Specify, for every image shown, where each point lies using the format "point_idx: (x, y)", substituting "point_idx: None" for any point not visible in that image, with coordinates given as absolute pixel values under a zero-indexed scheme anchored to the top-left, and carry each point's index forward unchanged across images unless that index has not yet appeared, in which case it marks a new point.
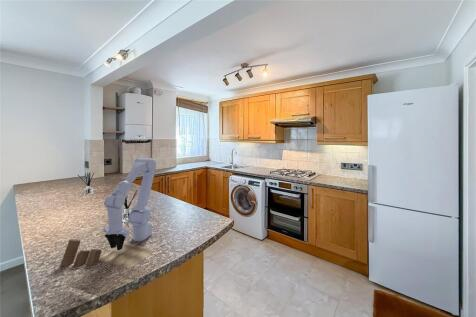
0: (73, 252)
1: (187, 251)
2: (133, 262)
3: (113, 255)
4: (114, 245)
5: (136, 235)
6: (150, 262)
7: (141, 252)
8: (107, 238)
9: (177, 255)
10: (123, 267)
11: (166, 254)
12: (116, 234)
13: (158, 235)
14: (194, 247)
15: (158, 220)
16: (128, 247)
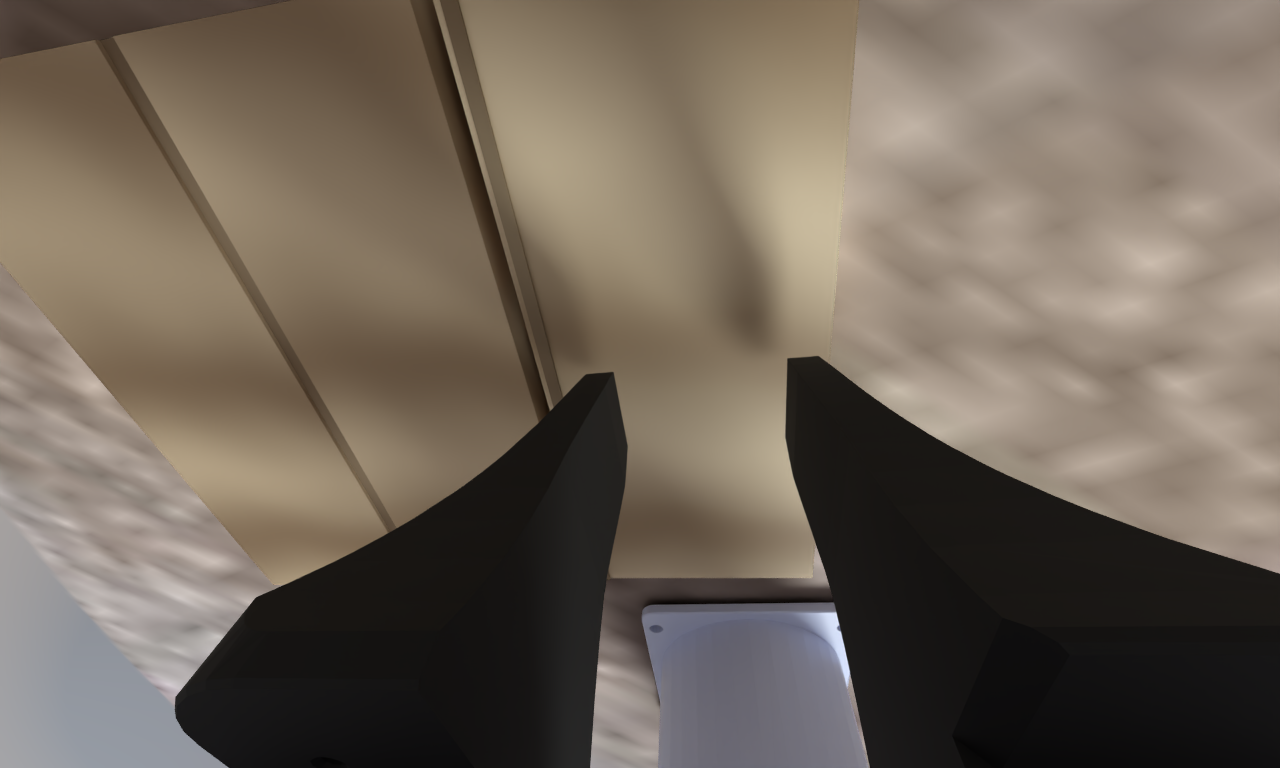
0: None
1: (130, 647)
2: (94, 281)
3: (618, 254)
4: (794, 440)
5: (728, 728)
6: (93, 409)
7: (350, 497)
8: (1023, 522)
9: (100, 587)
10: None
11: (188, 567)
12: (875, 757)
13: (651, 738)
14: (171, 693)
15: None
16: (650, 513)
